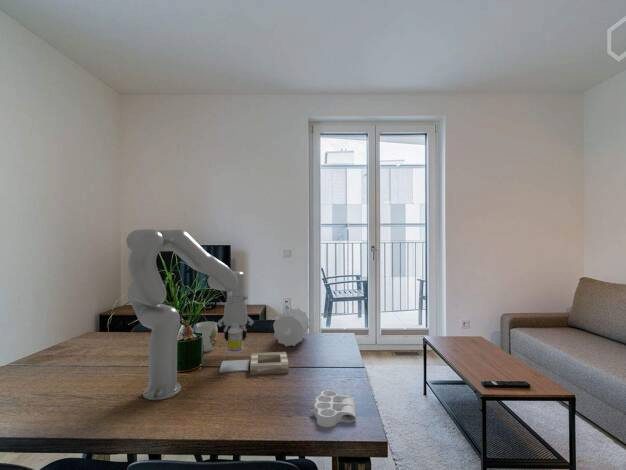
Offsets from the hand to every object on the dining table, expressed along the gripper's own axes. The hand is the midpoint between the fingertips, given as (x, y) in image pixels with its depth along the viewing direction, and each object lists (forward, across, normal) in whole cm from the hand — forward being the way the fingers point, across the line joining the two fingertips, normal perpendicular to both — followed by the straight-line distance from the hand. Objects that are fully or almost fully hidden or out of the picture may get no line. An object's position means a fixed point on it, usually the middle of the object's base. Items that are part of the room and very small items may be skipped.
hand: (235, 339), depth 146 cm
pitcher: (+12, +16, -26) cm, 33 cm away
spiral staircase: (+12, -28, -33) cm, 45 cm away
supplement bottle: (+5, 0, 0) cm, 5 cm away
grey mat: (+12, 0, 0) cm, 12 cm away
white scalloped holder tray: (+12, -35, +44) cm, 57 cm away
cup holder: (+12, -15, +2) cm, 19 cm away
